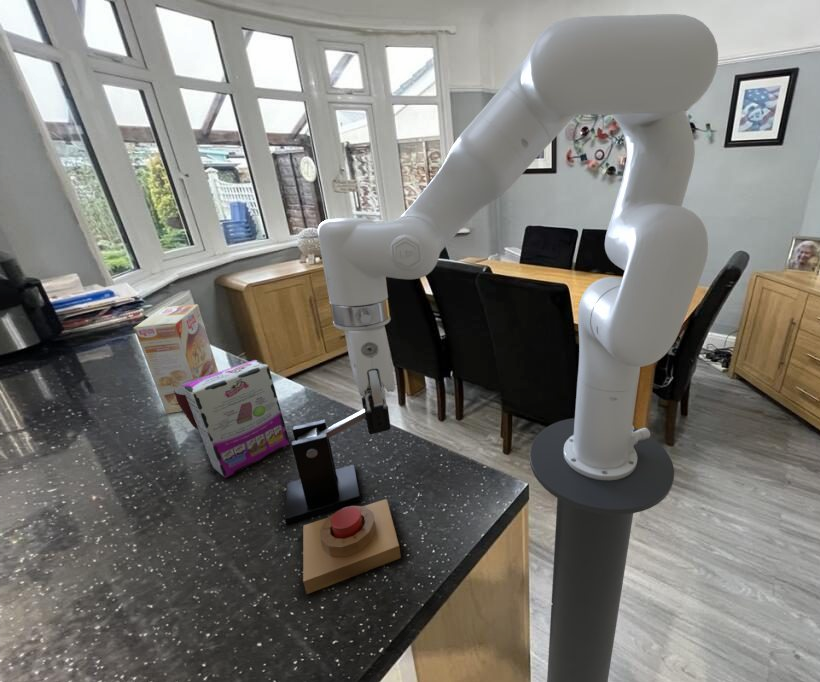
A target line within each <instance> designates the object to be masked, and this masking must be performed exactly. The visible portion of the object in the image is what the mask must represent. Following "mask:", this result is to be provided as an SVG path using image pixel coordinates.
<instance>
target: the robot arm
mask: <svg viewBox="0 0 820 682" xmlns="http://www.w3.org/2000/svg"><path fill="white" fill-rule="evenodd" d="M718 65H719V50H718V44H717V41H716V38H715V36H714V34H713V32H712V31H711V30H710V28H709V27H708V26H707V24H705V23H704V22H703V21H701V20H700V19H698V18H696V17H693V16H689V15H687V14H677V13H676V14H675V13H661V14H660V13H659V14H658V13H657V14H637V15H636V14H634V15H632V14H631V15H630V14H629V15H628V14H627V15H626V14H625V15H621V14H620V15H592V16H589V15H588V16H576V17H570V18H565V19H562V20H558V21H556V22H554V23H552V24H550V25H549V26H547V27H545V28H544V29H543V31H542V32H540V34H539V35H538V36H537V37H536V39H535V41H534V43H533V44H532V46H531V47H530V50H529V52H528V54H527V55H526V57H525V58H524V59H523V60H522V62H521V63H520V64H519V65H518V66H517V68H515V70H514V71H513V73H512V74H511V75H510V76H509V77H508V79H507V80H506V81H505V82H504V83H503V85H502V86H501V87H500V88H499V89H498V90H497V92H496V93H495V94H494V95H493V97H491V99H490V100H489V101H488V102H487V104H486V105H485V106H484V107H483V108H482V109H481V110H480V112H479V113H478V114H477V115H476V116H475V117H474V119H473V120H471V122H470V123H469V124H468V125H467V126H466V128H465V129H464V130H463V131H462V132H461V134H460V135H459V136H458V137H457V139H456V140H455V142H454V143H453V145H452V146H451V148H450V149H449V152H448V154H447V156H446V158H445V160H444V162H443V164H442V165H441V167H440V168H439V170H438V171H437V173H436V174H435V176H434V177H433V178H432V179H431V180H430V182H429V183H428V185H427V186H426V187H425V188H424V189H423V190H422V192H421V193H420V194H419V195H418V196H417V197H416V199H415V200H414V201H413V202H412V203H411V205H409V207H408V208H407V209H406V210H405V211H404V212H403V213H402V214H401V216H400V217H398V218H397V219H394V220H388V221H379V222H376V221H375V220H373V219H370V218H366V217H365V218H364V217H340V218H339V217H338V218H330V219H325V220H324V221H321V222H320V224H319V225H318V226H317V237H318V239H317V240H318V243H319V249H320V250H319V251H320V256H321V260H322V267H323V272H324V273H323V274H324V277H325V278H324V279H325V284H326V290H327V295H328V300H329V306H330V307H329V308H330V311H331V318H332V325H333V327H334V328H335V329H337V330H341V331H343V332H344V337H345V342H346V350H347V353H348V359H349V363H350V367H351V370H352V374H353V375H352V376H353V377H354V381H355V384H356V387H357V389H358V392H359V396H361V403H362V409H364V408H365V404H366V408H367V410H365V414H366V418H365V419H364V420H365V421H366V426H367V432H368V434H369V435H374V434H379V433H382V432H383V433H384V432H386V431H390V430H391V419H390V413H389V406H388V405H387V398H386V392H391V393H392V392H394V391H396V383H395V382H396V381H395V376H394V371H393V364H392V356H391V352H390V346H389V340H388V335H387V334H388V333H387V331H386V330H387V329H386V327H385V325H387V324H389V323H390V322H391V320H392V318H391V312H390V303H389V294H388V285H387V278H392V279H397V280H398V279H399V280H416V279H417V280H418V279H422V278H424V277H426V276H428V275H429V274H430V273H432V272H433V270H434V269H435V267H436V266H437V264H438V261H439V259H440V255H441V253H442V251H443V250H444V249H445V248H446V247H447V245H448V244H449V243H450V242H451V241H452V240H453V239H454V237H455V236H456V235H457V234H458V233H459V232H460V231H461V230H462V229H463V228H464V227H465V226H466V225H467V223H468V222H469V221H470V220H471V219H472V218H473V217H474V216H475V215H476V214H477V213H478V212H480V211H481V210H482V209H483V208H485V207H486V206H488V205H489V204H491V203H492V202H494V201H496V200H497V199H498V198H500V197H501V196H502V195H504V194H505V192H507V191H508V190H509V189H510V188H512V186H513V185H514V184H515V183H516V182H517V181H518V179H519V178H520V177H521V176H522V175H523V174H524V173H525V171H526V170H527V169H528V168H529V167H530V166H531V164H532V163H533V162H534V161H536V159H537V158H538V157H539V156H540V155H541V154H542V153H543V152H544V151H545V149H546V148H547V147H548V146H549V145H550V144H551V143H552V142H553V141H554V140H555V138H556V137H557V136H558V135H559V134H560V133H561V132H562V131H563V130H564V129H565V127H566V126H567V125H568V124H569V123H570V122H571V121H572V120H573V119H574V118H575V117H577V116H584V115H585V116H587V115H588V116H591V115H592V116H593V115H595V116H603V115H604V116H611V117H612V118H613V119H614V120H615V122H616V124H617V125H618V126H619V129H620V130H621V132H622V135H623V137H624V141H625V146H626V160H625V164H624V169H623V175H622V178H621V183H620V186H619V190H618V193H617V195H616V196H617V197H616V200H615V202H614V207H613V210H612V213H611V216H610V217H611V218H610V219H609V223H608V226H607V230H606V234H605V239H604V250H605V254H606V255H607V258H608V260H610V262H611V263H613V264H614V265H615V266H617V267H618V268H620V269H621V270H623V271H624V272H623V275H622V277H618V276H606V277H605V276H604V277H601V278H598V279H597V280H595V281H594V282H591V284H590V285H588V286H587V287H586V289H585V291H584V292H583V293H582V295H581V298H580V301H579V305H578V311H577V326H578V347H579V348H578V351H579V352H578V367H577V369H578V370H577V381H576V394H575V395H576V396H575V397H576V398H575V407H574V408H575V409H574V418H575V422H574V435H573V436H571V437H570V438H569V439H568V440H567V441H566V443H565V445H564V457H565V460H566V462H567V463H568V464H569V466H570V467H571V468H573V469H574V470H575V471H577V472H578V473H580V474H582V475H584V476H586V477H589V478H593V479H597V480H618V479H621V478H624V477H626V476H628V475H630V474H631V473H632V472H633V471H634V470H635V468H636V465H637V458H638V457H637V453H636V451H635V449H634V448H633V447H634V445H636V444H637V442H638V441H642V440H644V439H647V438H649V437H650V436H651V432H650V430H649V429H648V427H642V428H638V429H639V430H637V431H635V432H633V431H634V427H635V426H634V425H633V423H634V416H635V409H636V402H637V394H638V386H639V381H640V375H641V367H642V368H643V367H647V366H650V365H653V364H655V363H657V362H659V361H660V360H661V359H662V358H664V357H665V356H666V354H667V353H668V352H669V351H670V350H671V349H672V347H673V345H674V344H675V342H676V340H677V338H678V336H679V333H680V331H681V330H682V327H683V325H684V322H685V319H686V317H687V313H689V312H688V311H689V309H690V306H691V303H692V301H693V299H694V296H695V294H696V291H697V288H698V285H699V283H700V280H701V278H702V275H703V272H704V269H705V266H706V263H707V261H708V253H709V237H708V232H707V229H706V226H705V224H704V223H703V221H702V220H701V218H700V217H699V215H698V214H696V213H695V212H694V211H692V210H690V209H688V208H687V207H684V206H683V203H684V199H685V197H686V192H687V190H688V186H689V182H690V179H691V176H692V171H693V167H694V162H695V151H696V149H695V148H696V147H695V138H694V135H693V130H692V126H691V123H690V121H689V118H688V115H687V113H686V110H687V109H689V108H691V107H692V106H694V105H695V104H696V103H698V101H699V100H700V99H702V97H703V96H704V95H705V93H707V91H708V90H709V88H710V86H711V84H712V83H713V80H714V78H715V75H716V73H717V70H718V69H717V68H718ZM385 391H386V392H385ZM370 398H372V400H369V399H370Z"/></svg>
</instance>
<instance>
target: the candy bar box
mask: <svg viewBox="0 0 820 682" xmlns="http://www.w3.org/2000/svg"><path fill="white" fill-rule="evenodd" d="M182 387H183V390H184V393H185V395H186V398H187V400H188V403H189V405H190V408H191V411H192V413H193V416H194V419H195V421H196V424H197V427H198V429H199V430H198V429H197V430H198V432H199V435H200V437H201V439H202V442H203V445H204V448H205V450H206V453H207V455H208V458H209V461H210V464H211V466H212V469H214V470H215V471H216V472H218V473H219V474H220V475H221V476H222V477H224V478H225V479H226V478H229V477H231V476H233V475H235V474H237V473H238V472H240V471H242V470H244V469H246V468H248V467H249V466H252V465H253V464H255V463H257V462H259V461H262V460H263V459H264V458H266V457H268V456H270V455H272V454H273V453H275V452H277V451H279V450H282V449H283V448H285V447H287V446H289V445H290V444H291V442H290V437H289V434H288V431H287V427H286V423H285V420H284V417H283V413H282V409H281V406H280V403H279V398H278V394H277V392H276V388H275V384H274V381H273V378H272V372H271V369H270V367H269V365H268V364H265V363H263V362H261V361H259V360H257V359H253V360H250V361H247V362H244V363H241V364H239V365H235V366H232V367H230V368H227V369H223V370H220V371H218V373H215V374H212V375H209V376H206V377H203V378H200V379H197V380H195V381H192V382H189V383H186V384H183V385H182Z"/></svg>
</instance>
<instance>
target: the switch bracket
mask: <svg viewBox="0 0 820 682" xmlns="http://www.w3.org/2000/svg"><path fill="white" fill-rule="evenodd" d="M315 428H317V429H318V431H319V432H321V431H323V430H325V429H327V428H328V427H327V423H326V419H321V420H316V421H313V422H308V423H303V424H299V425H295V426H292V428H291V429H292V434H293V438H294V440H293V441H291V448H292V453H293V456H294V460H295V464H296V468H297V472H298V476H299V479H296V480H293V481H290V482H287V483H286V490H285V491H286V494H285V511H284V513H285V514H284V520H285V524H286V526H290V525H292V524H295V523H298V522H302V521H305V520H308V519H311V518H314V517H318V516H321V515H324V514H327V513H331V512H333V511H338V510H341V509H343V508H345V507H350V506H353V505H356V504H359V503H361V502H362V500H361V495H360V488H359V484H358V478H357V472H356V467H355V464H350V465H346V466H344V467H340V468H337V469H336V464H335V460H334V456H333V451H332V445H331V441H330V438H328V439H327V434H322V435H318V436H314V437H309V438H305V439H301V440H298V437H300V436H302V435H303V434H305V433H307V432H309V431H311V430H313V429H315Z"/></svg>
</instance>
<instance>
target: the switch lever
mask: <svg viewBox="0 0 820 682" xmlns="http://www.w3.org/2000/svg"><path fill="white" fill-rule="evenodd" d="M369 400H372V398H370V399H369ZM365 410H367V408H366V404H365V408H364V409H363V408H362V409H361V410H359V411H357V412H355V413H353V414H351V415H350V416H348V417H345V418H343V419H342V420H340V421H337V422H336V423H334V424H333V425H330V426H329V427H327V429H325V430H323V431H321V432H319V431H318V429H317V428H315V429H313V430H311V431H309V432H307V433H305V434H303V435H302V436H300V437H298V440H301V439H305V438H309V437H314V436H318V435H322V434H327V439H328V438H329V439H330V438H332V437H334V436H335V435H337V434H339V433H341V432H343V431H345V430H346V429H349V428H350V427H353V426H354V425H355V424H357V423H359V422H362V421H363V420H365V418H366V414H365Z"/></svg>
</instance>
